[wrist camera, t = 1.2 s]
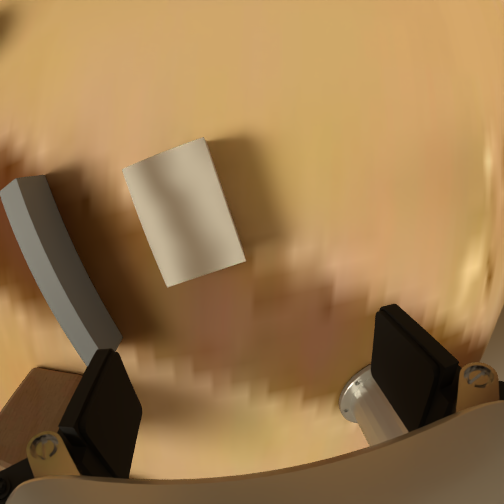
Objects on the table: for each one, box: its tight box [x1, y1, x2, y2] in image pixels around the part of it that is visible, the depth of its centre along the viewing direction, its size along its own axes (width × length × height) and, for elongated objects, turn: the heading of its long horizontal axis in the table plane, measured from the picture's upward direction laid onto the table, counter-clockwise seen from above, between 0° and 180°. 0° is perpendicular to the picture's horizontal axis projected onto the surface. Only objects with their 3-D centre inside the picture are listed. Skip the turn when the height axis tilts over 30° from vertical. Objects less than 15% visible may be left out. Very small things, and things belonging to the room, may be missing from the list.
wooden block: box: [0, 367, 82, 471], centre depth 28 cm, size 10×10×20 cm
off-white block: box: [122, 137, 246, 287], centre depth 30 cm, size 8×12×5 cm, turn 18°
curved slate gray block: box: [0, 175, 123, 367], centre depth 29 cm, size 3×22×6 cm, turn 21°
